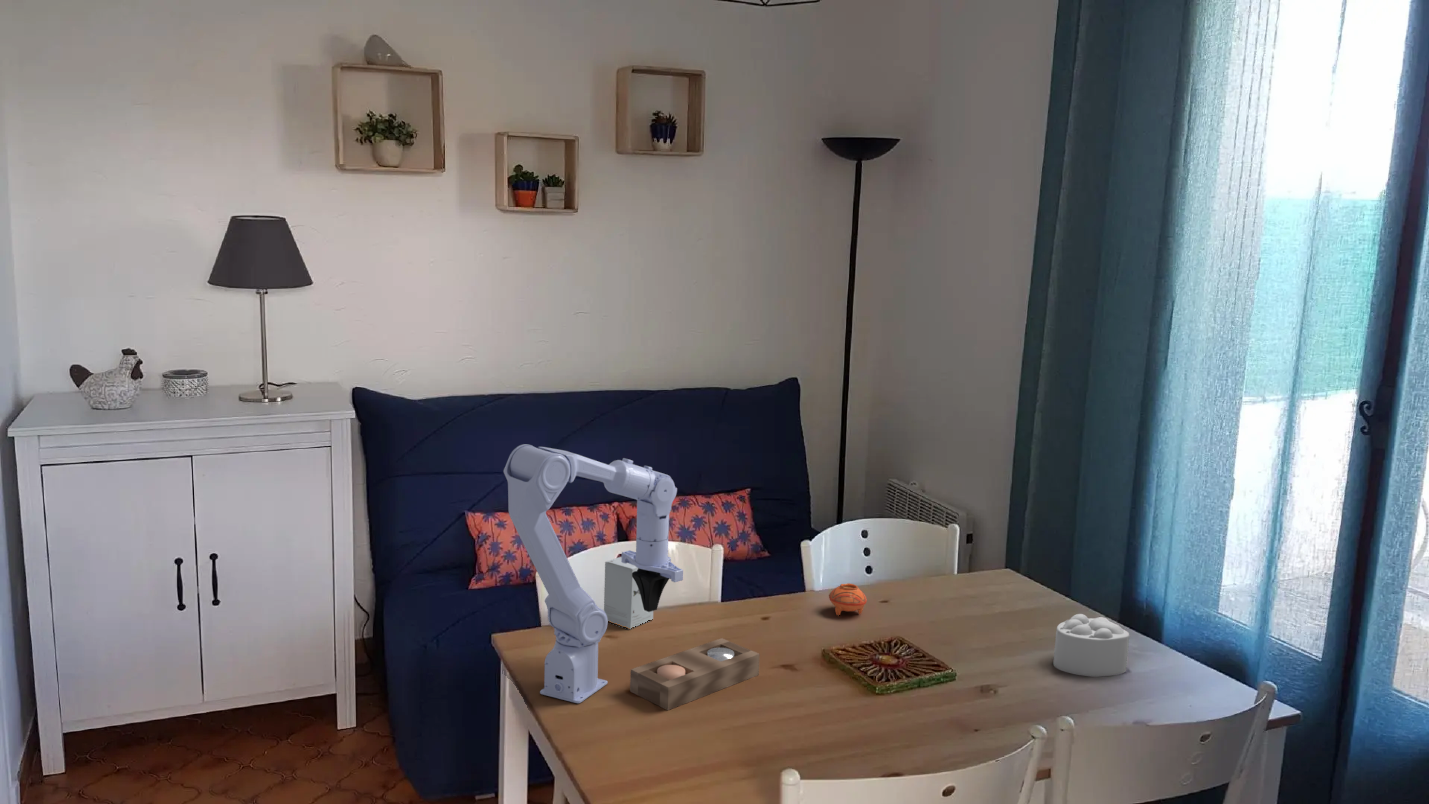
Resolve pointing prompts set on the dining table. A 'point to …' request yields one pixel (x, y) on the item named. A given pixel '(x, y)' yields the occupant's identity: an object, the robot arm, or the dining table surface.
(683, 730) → the dining table surface
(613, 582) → the supplement box
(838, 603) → the pot
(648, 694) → the wooden peg holder
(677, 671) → the near peg
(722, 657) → the far peg
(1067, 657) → the lumpy-topped squat cylinder
